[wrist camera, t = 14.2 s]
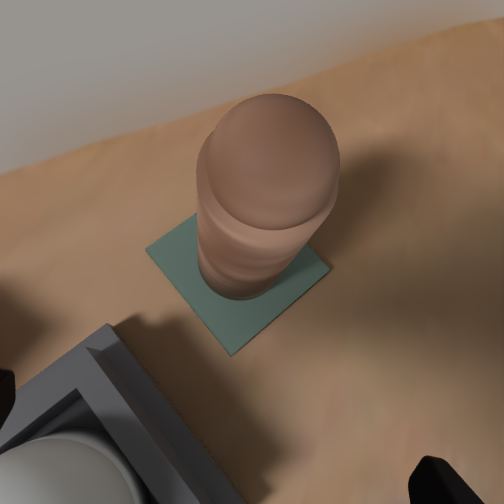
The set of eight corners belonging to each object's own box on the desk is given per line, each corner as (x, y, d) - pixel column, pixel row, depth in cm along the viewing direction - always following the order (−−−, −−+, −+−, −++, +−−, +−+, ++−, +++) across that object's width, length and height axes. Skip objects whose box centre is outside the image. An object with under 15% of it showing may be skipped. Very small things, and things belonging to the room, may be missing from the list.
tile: (328, 271, 24) (330, 269, 24) (230, 356, 22) (231, 356, 21) (246, 180, 25) (247, 177, 25) (145, 251, 23) (145, 248, 23)
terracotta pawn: (295, 252, 24) (401, 116, 11) (249, 317, 22) (312, 242, 10) (230, 206, 24) (264, 25, 12) (180, 267, 22) (156, 131, 10)
